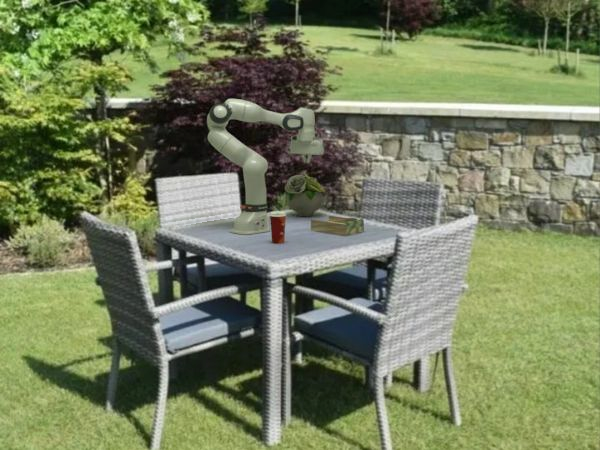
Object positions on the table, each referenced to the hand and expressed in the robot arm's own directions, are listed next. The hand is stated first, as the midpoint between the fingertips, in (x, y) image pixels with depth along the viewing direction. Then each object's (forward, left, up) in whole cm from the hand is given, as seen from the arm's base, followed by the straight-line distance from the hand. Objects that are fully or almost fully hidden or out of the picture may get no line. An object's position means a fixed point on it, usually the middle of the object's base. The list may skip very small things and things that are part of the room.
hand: (306, 162), depth 416 cm
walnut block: (-4, -34, -31) cm, 46 cm away
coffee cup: (-47, -21, -34) cm, 62 cm away
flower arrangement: (+20, +18, -34) cm, 44 cm away
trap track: (-6, -26, -34) cm, 43 cm away
